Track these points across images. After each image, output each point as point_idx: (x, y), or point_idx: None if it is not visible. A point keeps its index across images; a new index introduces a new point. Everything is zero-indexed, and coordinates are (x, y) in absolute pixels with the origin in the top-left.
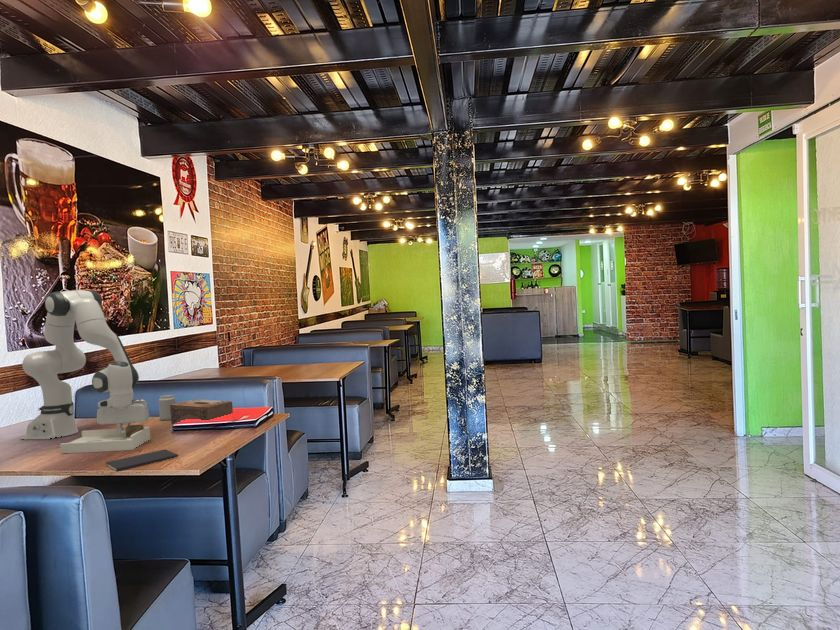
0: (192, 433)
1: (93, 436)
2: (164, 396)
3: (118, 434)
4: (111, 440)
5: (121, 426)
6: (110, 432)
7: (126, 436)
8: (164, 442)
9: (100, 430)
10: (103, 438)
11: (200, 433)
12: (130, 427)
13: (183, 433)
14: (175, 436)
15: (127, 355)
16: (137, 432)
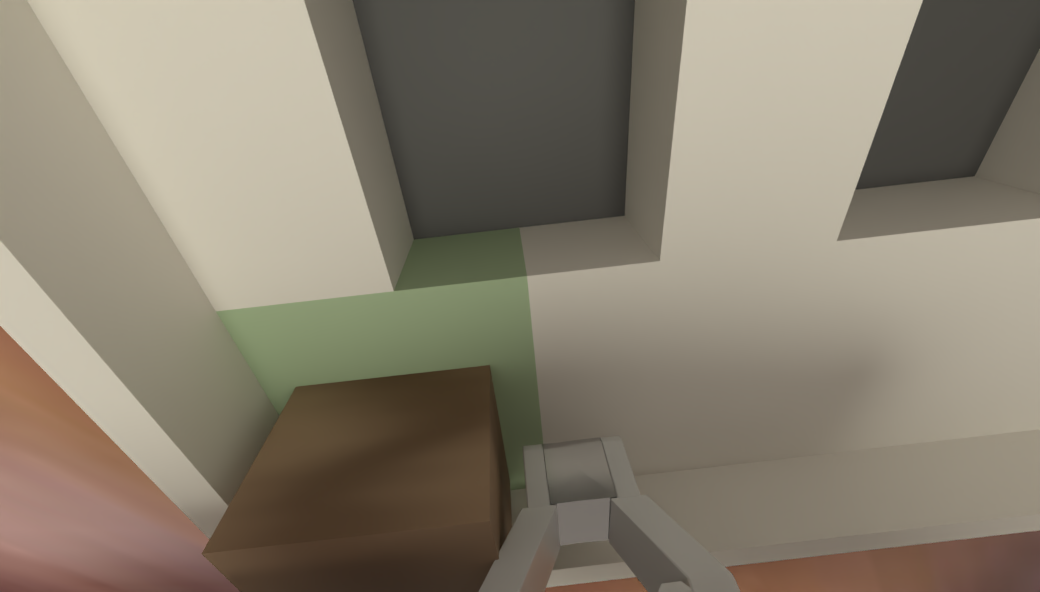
0: (98, 581)
1: (1002, 429)
2: None
3: (691, 475)
4: (662, 210)
5: (651, 581)
6: (812, 494)
7: (482, 375)
8: (14, 360)
9: (983, 513)
10: (850, 335)
11: (10, 582)
12: (383, 541)
13: (193, 580)
14: (169, 526)
15: None
16: (74, 364)
